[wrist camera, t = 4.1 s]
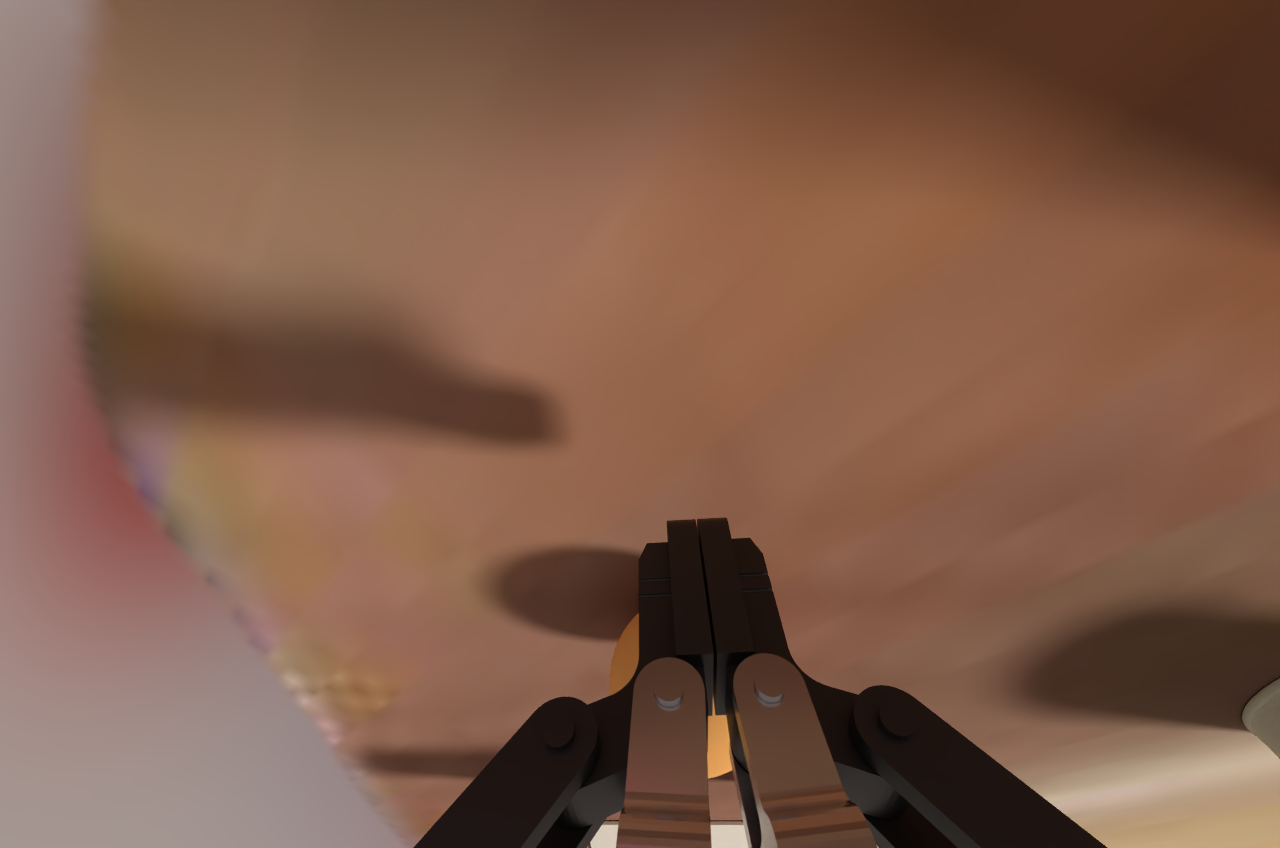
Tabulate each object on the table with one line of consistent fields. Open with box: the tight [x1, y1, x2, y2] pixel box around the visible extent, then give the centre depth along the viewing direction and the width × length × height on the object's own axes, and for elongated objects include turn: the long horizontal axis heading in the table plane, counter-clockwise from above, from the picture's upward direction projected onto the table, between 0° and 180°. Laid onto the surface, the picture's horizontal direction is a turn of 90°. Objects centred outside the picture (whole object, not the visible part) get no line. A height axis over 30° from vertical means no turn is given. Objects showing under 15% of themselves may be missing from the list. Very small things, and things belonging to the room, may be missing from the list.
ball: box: [610, 613, 732, 778], centre depth 18 cm, size 6×6×6 cm
